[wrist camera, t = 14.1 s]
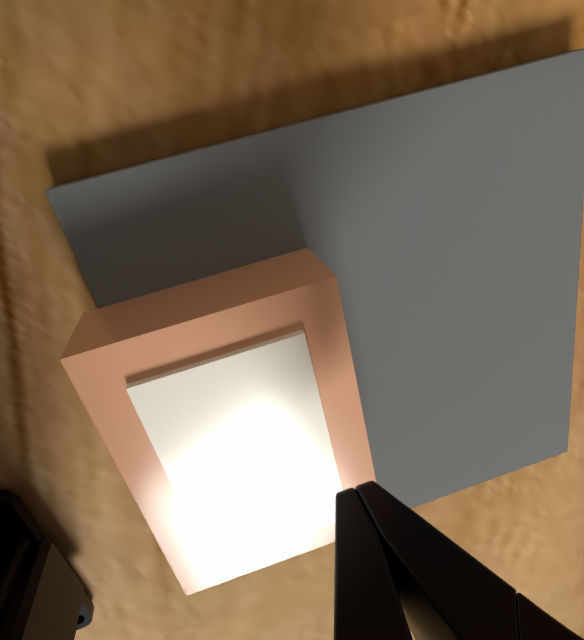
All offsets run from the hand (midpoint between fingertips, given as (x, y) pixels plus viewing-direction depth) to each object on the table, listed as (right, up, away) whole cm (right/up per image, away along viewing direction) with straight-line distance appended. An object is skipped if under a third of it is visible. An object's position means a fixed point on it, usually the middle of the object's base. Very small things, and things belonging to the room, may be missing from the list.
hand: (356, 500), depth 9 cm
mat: (+1, +3, +5) cm, 6 cm away
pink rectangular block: (0, +2, +3) cm, 4 cm away
